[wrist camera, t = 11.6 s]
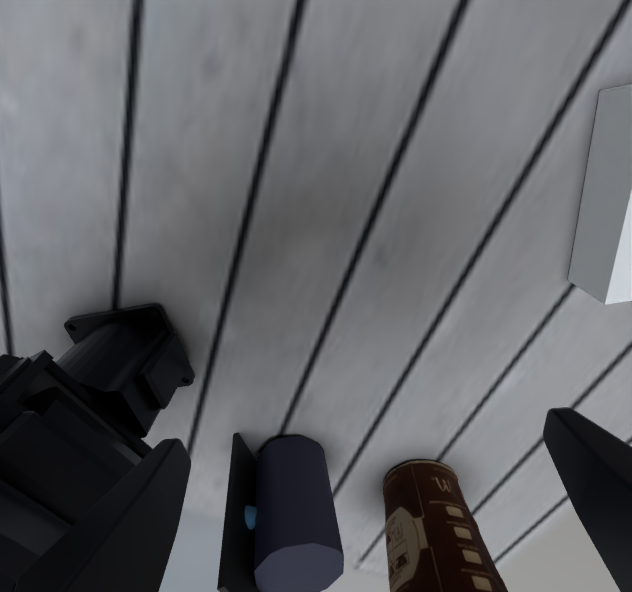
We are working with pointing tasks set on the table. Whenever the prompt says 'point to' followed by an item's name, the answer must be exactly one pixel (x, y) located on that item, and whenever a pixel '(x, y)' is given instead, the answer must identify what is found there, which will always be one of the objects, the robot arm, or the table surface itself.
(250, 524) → the speaker
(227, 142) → the table surface
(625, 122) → the socket
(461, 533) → the coffee cup
